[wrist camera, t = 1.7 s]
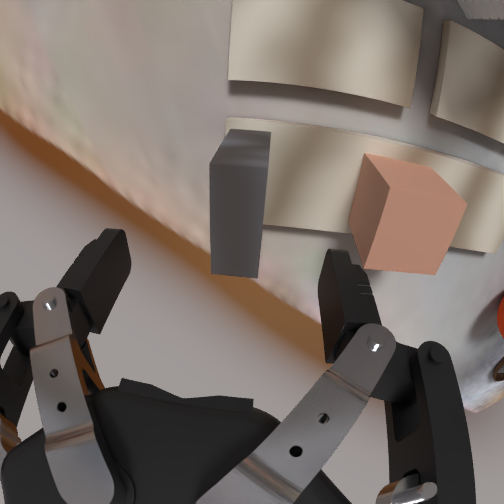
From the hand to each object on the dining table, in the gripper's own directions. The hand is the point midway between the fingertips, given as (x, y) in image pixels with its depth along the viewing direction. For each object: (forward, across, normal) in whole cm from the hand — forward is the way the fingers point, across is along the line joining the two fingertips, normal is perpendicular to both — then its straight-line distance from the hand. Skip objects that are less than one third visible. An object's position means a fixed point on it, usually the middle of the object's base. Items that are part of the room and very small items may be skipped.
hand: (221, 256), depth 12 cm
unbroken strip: (+10, -11, 0) cm, 15 cm away
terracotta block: (+8, -10, 0) cm, 13 cm away
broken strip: (+10, -11, -9) cm, 17 cm away
